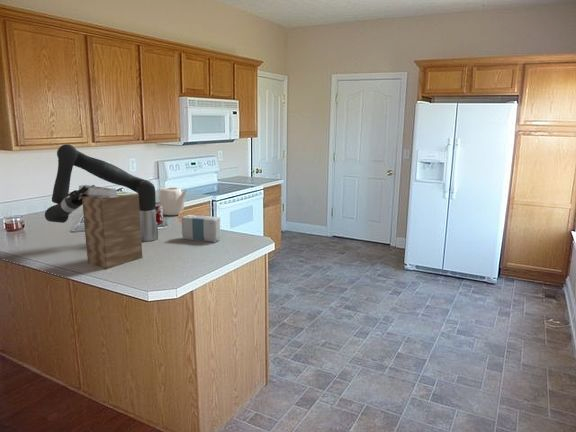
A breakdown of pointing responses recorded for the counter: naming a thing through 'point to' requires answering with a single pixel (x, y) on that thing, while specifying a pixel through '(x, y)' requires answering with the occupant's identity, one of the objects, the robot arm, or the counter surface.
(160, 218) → the soda can
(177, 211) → the cream teapot
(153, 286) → the counter surface
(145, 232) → the robot arm
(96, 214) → the stand
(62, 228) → the counter surface
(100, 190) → the bar
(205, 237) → the white banded box
